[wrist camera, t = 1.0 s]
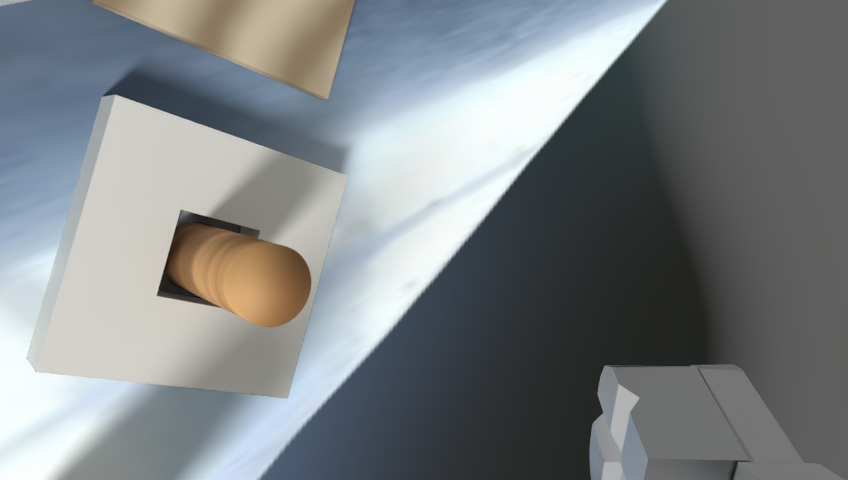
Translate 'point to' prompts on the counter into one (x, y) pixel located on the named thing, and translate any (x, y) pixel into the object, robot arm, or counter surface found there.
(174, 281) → the plug
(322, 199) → the socket block
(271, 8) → the board
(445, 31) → the counter surface
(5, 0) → the butter dish
